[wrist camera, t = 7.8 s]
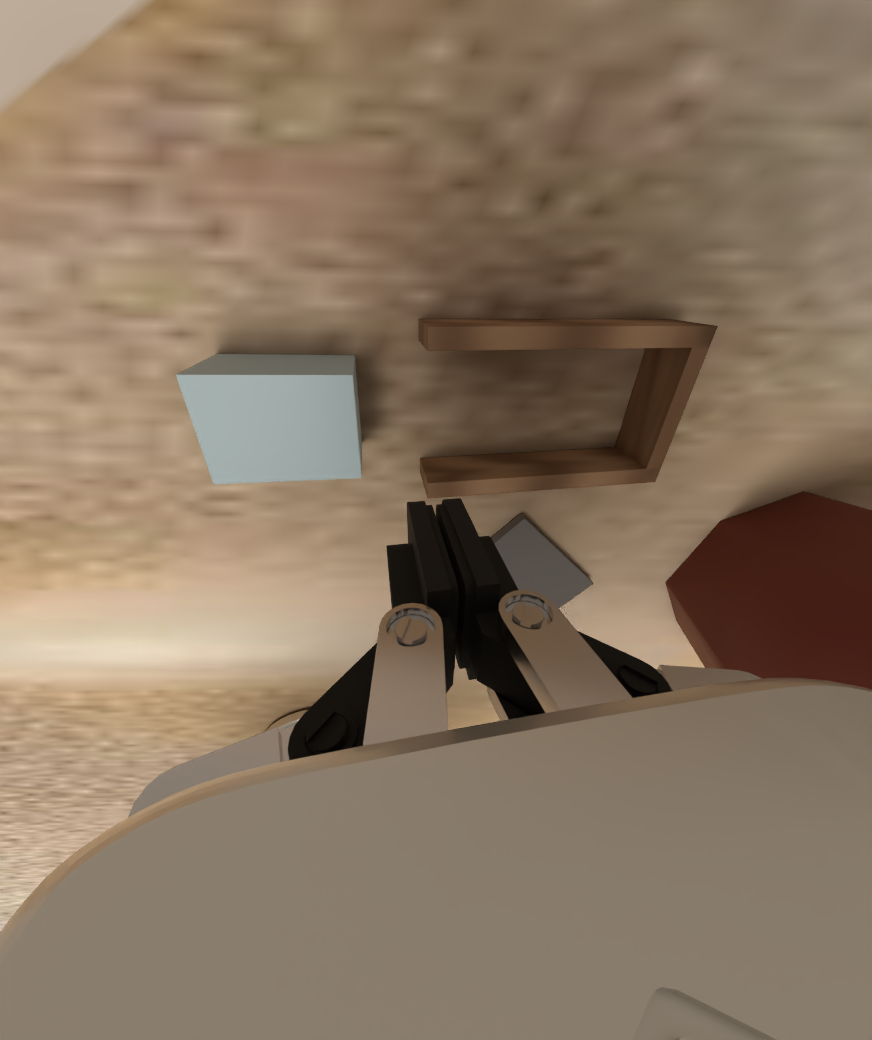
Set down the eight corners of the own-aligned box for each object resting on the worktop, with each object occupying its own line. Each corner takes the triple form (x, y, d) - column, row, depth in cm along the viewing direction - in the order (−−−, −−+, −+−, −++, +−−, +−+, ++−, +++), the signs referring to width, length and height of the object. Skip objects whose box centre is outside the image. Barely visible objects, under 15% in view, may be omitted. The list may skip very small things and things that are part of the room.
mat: (498, 642, 36) (500, 649, 36) (420, 596, 31) (422, 603, 30) (588, 577, 33) (593, 583, 32) (520, 512, 27) (524, 518, 27)
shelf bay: (420, 471, 24) (427, 498, 21) (418, 319, 19) (428, 326, 16) (623, 459, 26) (655, 481, 23) (670, 319, 21) (717, 326, 18)
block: (242, 444, 21) (213, 484, 17) (217, 353, 19) (175, 374, 15) (361, 441, 22) (361, 478, 18) (354, 354, 20) (352, 375, 16)
